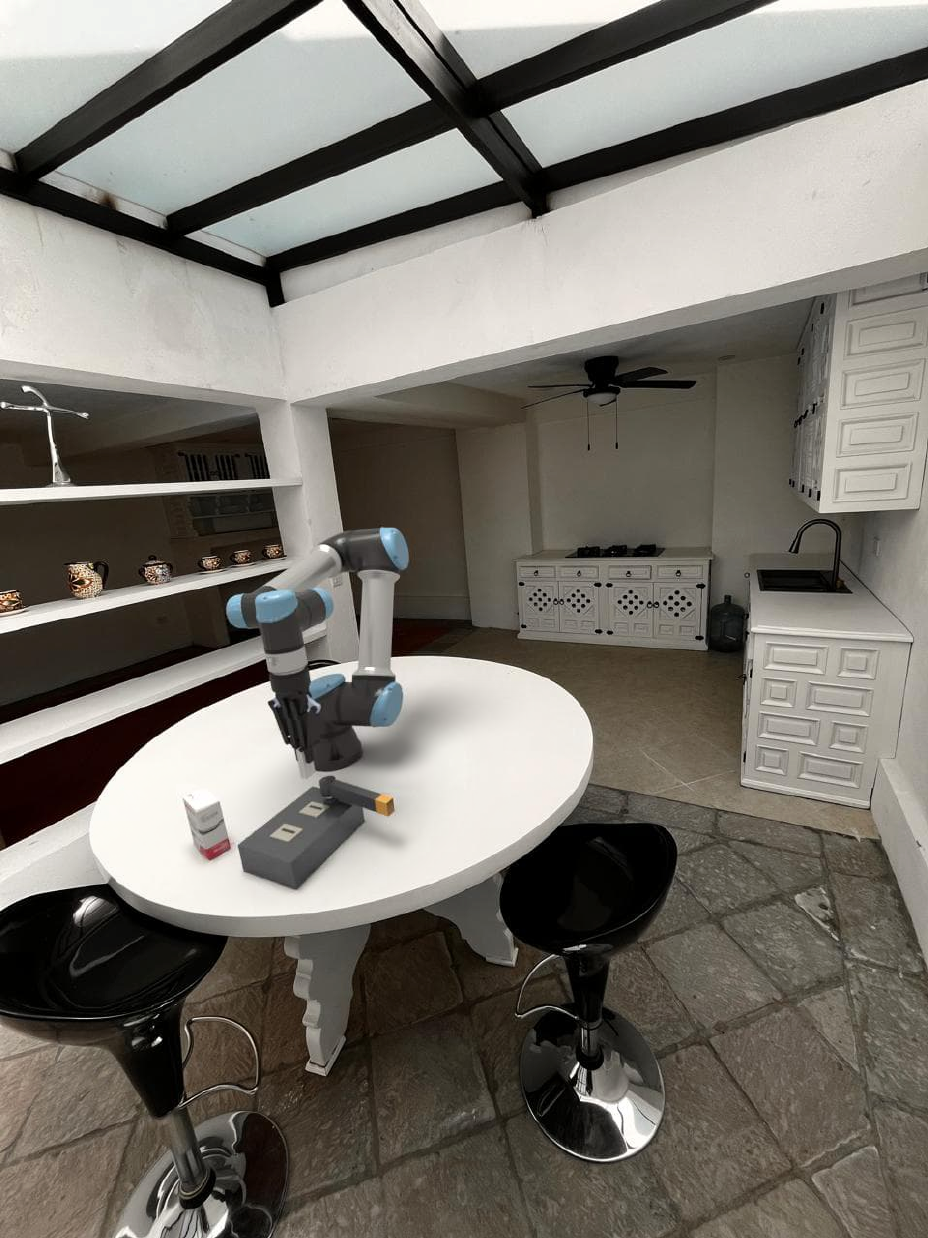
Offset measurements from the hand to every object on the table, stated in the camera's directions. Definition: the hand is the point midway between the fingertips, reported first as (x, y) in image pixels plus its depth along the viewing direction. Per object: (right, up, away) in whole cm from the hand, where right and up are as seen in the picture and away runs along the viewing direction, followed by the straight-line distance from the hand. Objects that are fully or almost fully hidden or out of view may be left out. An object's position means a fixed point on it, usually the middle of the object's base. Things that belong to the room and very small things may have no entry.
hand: (308, 775), depth 105 cm
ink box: (-22, -16, +3) cm, 27 cm away
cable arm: (+10, -6, +2) cm, 11 cm away
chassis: (0, -15, 0) cm, 15 cm away
